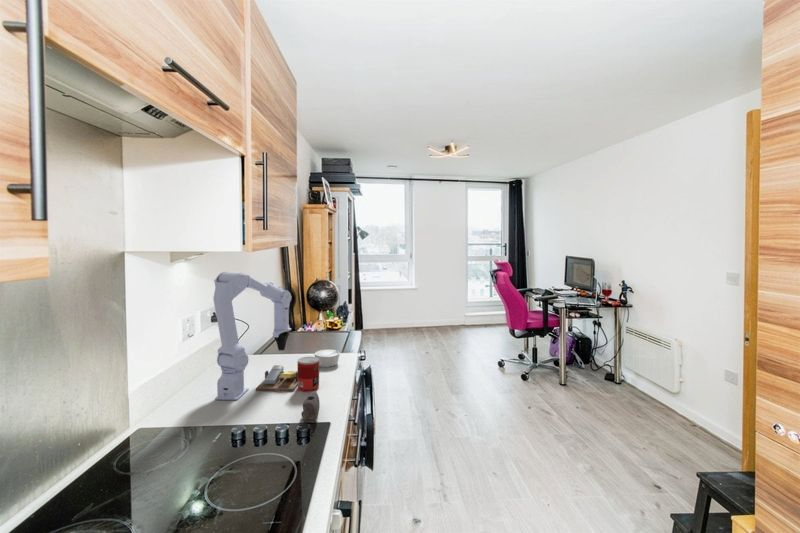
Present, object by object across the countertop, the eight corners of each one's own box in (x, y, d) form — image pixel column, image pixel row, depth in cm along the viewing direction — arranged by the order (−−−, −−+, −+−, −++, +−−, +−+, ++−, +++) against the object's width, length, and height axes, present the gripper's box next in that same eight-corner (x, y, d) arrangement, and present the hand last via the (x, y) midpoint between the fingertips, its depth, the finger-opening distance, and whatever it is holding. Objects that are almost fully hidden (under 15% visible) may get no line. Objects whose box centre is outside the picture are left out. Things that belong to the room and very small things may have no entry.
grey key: (275, 383, 136) (275, 379, 136) (264, 383, 136) (263, 379, 136) (283, 369, 146) (283, 365, 146) (273, 369, 146) (273, 365, 146)
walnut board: (293, 391, 133) (293, 379, 133) (255, 390, 133) (255, 379, 133) (305, 375, 149) (305, 365, 149) (271, 375, 149) (271, 364, 149)
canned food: (317, 391, 133) (317, 362, 132) (295, 392, 133) (295, 362, 132) (320, 383, 141) (320, 356, 140) (299, 384, 140) (299, 356, 140)
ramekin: (340, 367, 160) (340, 355, 160) (314, 369, 157) (314, 357, 157) (338, 359, 171) (338, 348, 171) (314, 361, 168) (314, 350, 168)
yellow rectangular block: (291, 378, 136) (291, 372, 136) (279, 377, 136) (280, 372, 136) (298, 376, 146) (298, 371, 146) (287, 375, 146) (288, 371, 146)
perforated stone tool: (306, 405, 122) (306, 385, 122) (322, 404, 123) (322, 384, 122) (299, 427, 107) (299, 405, 107) (317, 426, 108) (317, 404, 107)
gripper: (285, 321, 143) (285, 355, 144) (296, 314, 158) (296, 345, 159) (267, 321, 143) (267, 355, 144) (280, 314, 158) (280, 345, 159)
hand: (281, 350), depth 151 cm, fingers closed
